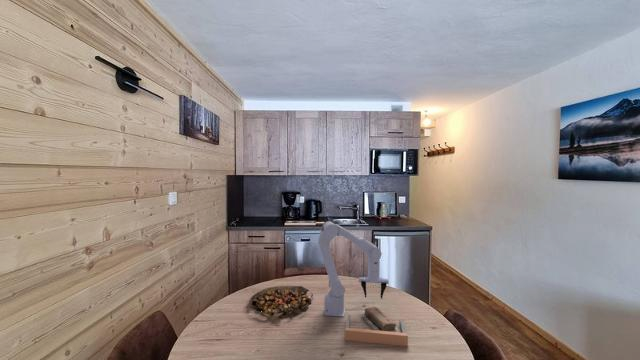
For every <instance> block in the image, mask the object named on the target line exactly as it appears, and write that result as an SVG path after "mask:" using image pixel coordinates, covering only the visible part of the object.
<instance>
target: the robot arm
mask: <svg viewBox="0 0 640 360" xmlns="http://www.w3.org/2000/svg"><path fill="white" fill-rule="evenodd" d="M336 236H337V237H344V238H345V239H347V240H349V241H351V242H352V243H354V247H356V248H357V249H359V250H360V251H361V252H363V253H364V254H366V255H367V276H363V277H362V276H360V277H358V283H360V286H361V287H362V288H361V289H362V290H363V293H364V298H367V283H371V284H380V299H381V300H382V299H383V296H384V293H385V290H386V288H387V285H389V284H390V281H389V279H388V278H383V277H380V271H381V270H380V268H381V267H380V265H381V264H380V260H381V259H380V258H381V257H382V254H383V253H382V251H381V249H380V248H379V247H378V246H376V245H375V244H374V243H373V242H370V241H369V240H367V238H366V237H362V236H359V237H357V236H356V235H354V234H353V233H351V232H350V231H348V229H346V228H344V227H343V226H340V225H339V224H337V223H334V222H332V221H330V220H329V221H325V222H324V223H323V225H322V226H321V227H320V232H319V235H318V239H317V244H318V247H319V251H320V253H321V257H322V260H323V262H324V263H323V264H324V267H325V270H326V273H327V276H328V277H327V278H328V287H329V289H330V290H329V292H327V293H325V294H324V301H323V302H324V303H323V304H324V305H323V307H324V313H323V315H324V316H328V317H329V316H330V317H331V316H332V317H339V318H340V317H342V318H343V317H345V312H346V308H345V292H346V288H345V286H344V285H343V284H342V282H341V279H340V276H339V273H338V271H337V267H336V265H335V261H334V258H333V253H332V251H331V248H330V243H331V241H332V240H333V239H334V238H336Z"/></svg>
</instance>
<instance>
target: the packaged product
mask: <svg viewBox="0 0 640 360" xmlns="http://www.w3.org/2000/svg"><path fill="white" fill-rule="evenodd" d="M361 318H362V319H363V320H364V322H365V321H366V322H365V323H366V324H367V325H368V326H369V327H370V328H371V330H378V331H389V332H400V333H401V329H399V328H397V327H396V326H397V324H396V323H395V322H394V321H393V320H392V319H391V318H390V317H389V316H387V315H386V314H385V313H384V312H383V311H381V310H380V308H378V307H376V306H371V307H370V306H369V307H366V308H364V314H361Z"/></svg>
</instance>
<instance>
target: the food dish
mask: <svg viewBox="0 0 640 360" xmlns="http://www.w3.org/2000/svg"><path fill="white" fill-rule="evenodd" d="M308 292H310V289H308V288H306V287H304V286H301V285H279V286H278V285H277V286H271V287H267V288H263V289H262V290H260V291H258V292H255V293H254V294H253V295H252V296H251V297H250V299H249V300H248V305H249V307H250V308H249V309H251V310H253V311H254V312H255V313H256V312H257V314H260V315H262V316H265V317H266V318H267V320H268V321H279V320H283V319H288V318H290V319H292V318H293V317H297V316H300V315H302V314H303V313H306V312H307V311H308V309H309V306H310V305H311V304H312V301H313V299H314V296H313V295H314V294H313V292H310V293H311V296H310V297H309V296H308V294H307V293H308ZM261 311H262V312H261Z"/></svg>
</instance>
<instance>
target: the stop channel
mask: <svg viewBox="0 0 640 360" xmlns="http://www.w3.org/2000/svg"><path fill="white" fill-rule="evenodd" d="M346 317H347V318H346V324H345V329H344V340H345V341H348V342H361V343H362V342H363V343H372V344H380V345H382V344H383V345H393V346H399V347H400V346H402V347H408V346H409V341H408V340H409V337H408V336H409V335H408V333H407V331H406V328H405V325H404V321H403V318H399V324H398V325H399V328H400V329H399V330H400V331H401V333H400V332H389V331H378V330H373V329H367V328H355V327H351V325H350V324H351V314H347V316H346Z"/></svg>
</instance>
